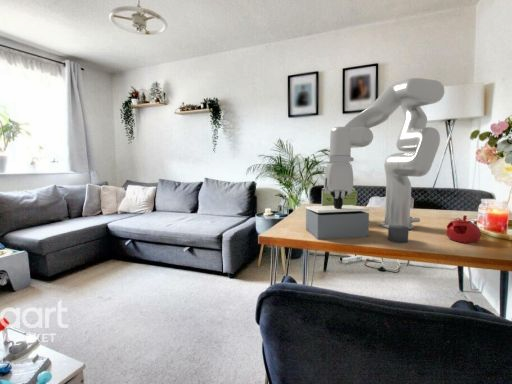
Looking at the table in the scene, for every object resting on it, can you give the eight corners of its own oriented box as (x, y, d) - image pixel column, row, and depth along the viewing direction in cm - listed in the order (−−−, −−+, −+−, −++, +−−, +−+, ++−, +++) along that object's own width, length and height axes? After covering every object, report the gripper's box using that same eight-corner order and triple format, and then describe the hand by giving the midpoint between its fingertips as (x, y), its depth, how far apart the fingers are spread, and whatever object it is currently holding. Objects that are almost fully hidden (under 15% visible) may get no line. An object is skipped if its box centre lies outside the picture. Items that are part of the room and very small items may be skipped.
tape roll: (400, 237, 100) (400, 224, 99) (412, 242, 94) (412, 228, 93) (384, 238, 99) (384, 225, 98) (395, 243, 93) (395, 229, 92)
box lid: (351, 206, 114) (351, 204, 114) (369, 210, 100) (369, 208, 100) (306, 208, 112) (306, 206, 111) (317, 212, 98) (317, 210, 98)
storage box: (350, 227, 115) (351, 207, 114) (368, 236, 101) (368, 213, 100) (305, 229, 113) (306, 208, 112) (317, 239, 99) (317, 215, 98)
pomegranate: (464, 236, 100) (466, 212, 99) (488, 244, 90) (490, 217, 89) (438, 236, 100) (440, 212, 99) (459, 245, 90) (461, 218, 89)
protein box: (356, 224, 121) (357, 190, 119) (321, 222, 124) (322, 190, 122) (353, 219, 131) (353, 187, 130) (321, 218, 134) (321, 187, 133)
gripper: (353, 160, 105) (351, 206, 107) (317, 160, 103) (315, 207, 105) (363, 160, 98) (361, 209, 100) (324, 160, 96) (322, 210, 98)
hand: (337, 208), depth 102 cm, fingers closed
